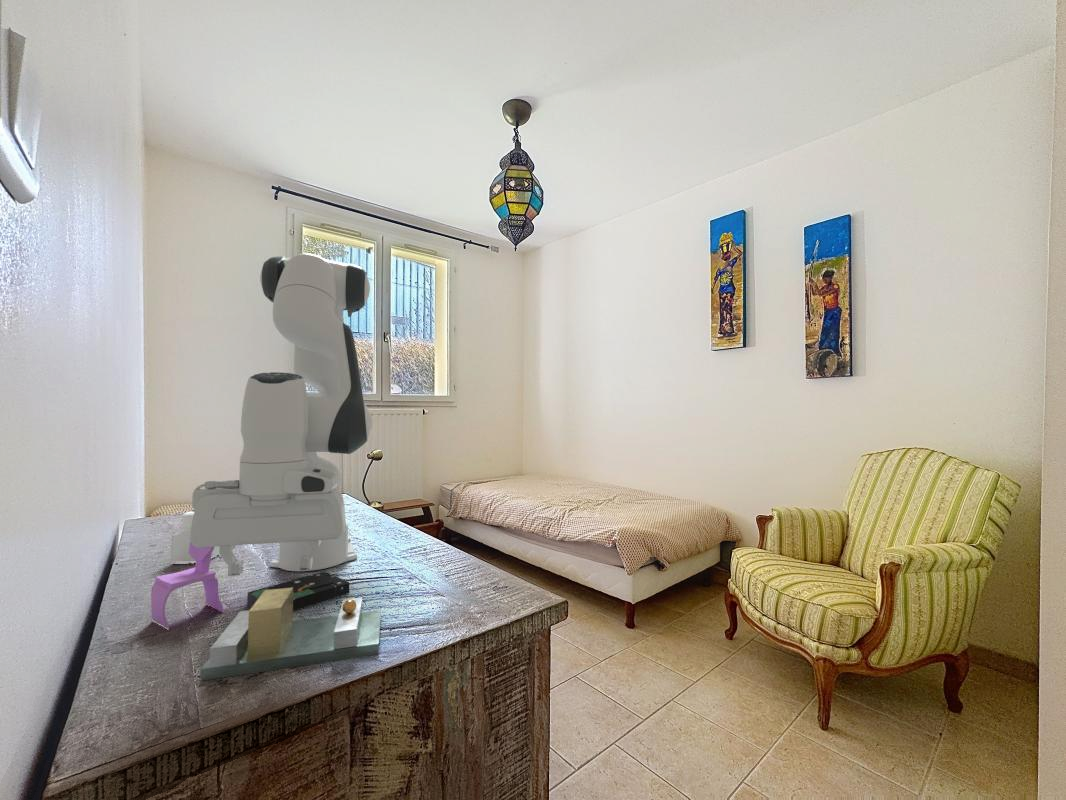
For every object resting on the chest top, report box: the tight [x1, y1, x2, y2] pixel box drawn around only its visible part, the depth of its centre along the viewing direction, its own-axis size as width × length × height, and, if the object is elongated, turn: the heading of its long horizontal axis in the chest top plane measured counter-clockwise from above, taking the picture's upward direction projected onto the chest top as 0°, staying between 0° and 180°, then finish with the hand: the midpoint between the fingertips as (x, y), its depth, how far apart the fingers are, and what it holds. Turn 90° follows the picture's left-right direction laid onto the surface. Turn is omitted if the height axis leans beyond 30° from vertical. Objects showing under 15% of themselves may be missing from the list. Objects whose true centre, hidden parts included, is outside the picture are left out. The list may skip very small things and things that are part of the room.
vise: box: [199, 609, 382, 682], centre depth 67 cm, size 12×22×4 cm, turn 107°
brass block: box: [248, 587, 294, 655], centre depth 66 cm, size 4×8×6 cm, turn 17°
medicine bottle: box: [170, 509, 220, 561], centre depth 109 cm, size 7×7×12 cm
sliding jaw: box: [334, 597, 363, 649], centre depth 69 cm, size 12×3×4 cm, turn 17°
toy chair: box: [150, 542, 225, 628], centre depth 77 cm, size 8×9×15 cm
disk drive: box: [246, 571, 350, 612], centre depth 85 cm, size 10×3×15 cm
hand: (271, 571), depth 67 cm, fingers open, 8 cm apart
